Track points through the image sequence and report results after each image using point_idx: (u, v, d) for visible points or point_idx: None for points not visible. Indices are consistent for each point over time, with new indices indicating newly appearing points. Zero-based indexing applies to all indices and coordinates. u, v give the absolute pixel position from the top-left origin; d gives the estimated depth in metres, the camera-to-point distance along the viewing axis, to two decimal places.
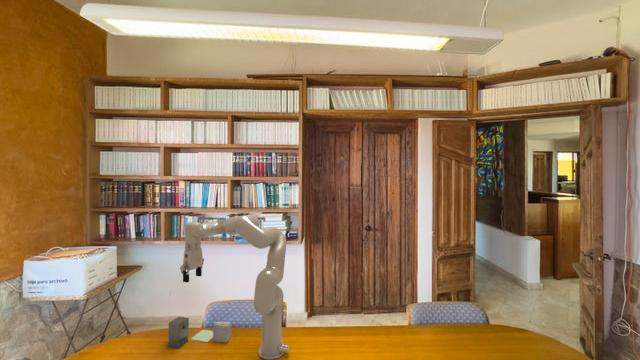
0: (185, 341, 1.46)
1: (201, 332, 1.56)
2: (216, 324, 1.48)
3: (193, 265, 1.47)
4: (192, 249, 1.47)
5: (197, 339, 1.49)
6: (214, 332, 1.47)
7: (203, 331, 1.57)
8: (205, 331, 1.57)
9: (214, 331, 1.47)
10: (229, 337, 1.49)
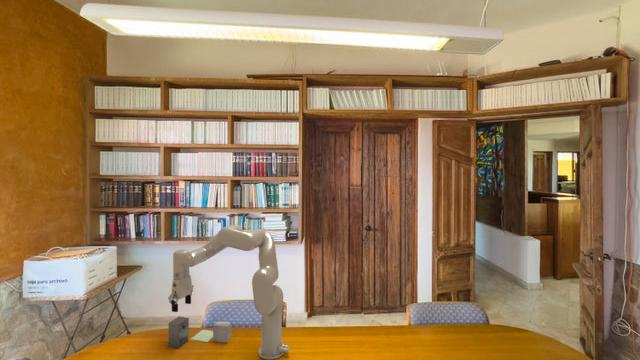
0: (185, 341, 1.46)
1: (201, 332, 1.56)
2: (216, 324, 1.48)
3: (182, 294, 1.45)
4: (180, 278, 1.46)
5: (197, 339, 1.49)
6: (214, 332, 1.47)
7: (203, 331, 1.57)
8: (205, 331, 1.57)
9: (214, 331, 1.47)
10: (229, 337, 1.49)
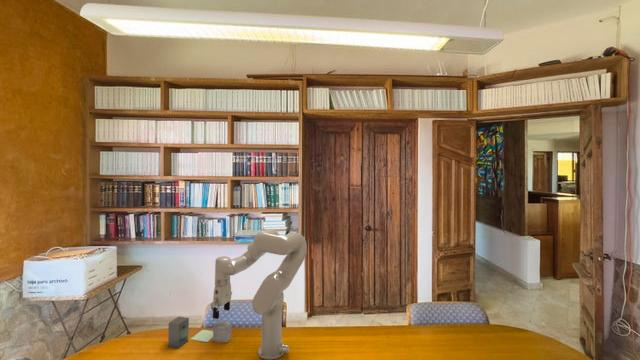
0: (185, 341, 1.46)
1: (201, 332, 1.56)
2: (216, 324, 1.48)
3: (223, 301, 1.46)
4: (222, 285, 1.46)
5: (197, 339, 1.49)
6: (214, 332, 1.47)
7: (203, 331, 1.57)
8: (205, 331, 1.57)
9: (214, 331, 1.47)
10: (229, 337, 1.49)
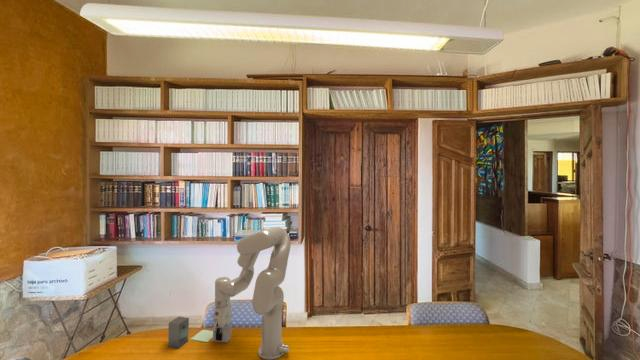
0: (185, 341, 1.46)
1: (201, 332, 1.56)
2: None
3: (223, 323, 1.46)
4: (222, 306, 1.46)
5: (197, 339, 1.49)
6: (214, 332, 1.47)
7: (203, 331, 1.57)
8: (205, 331, 1.57)
9: (214, 331, 1.47)
10: (229, 337, 1.49)
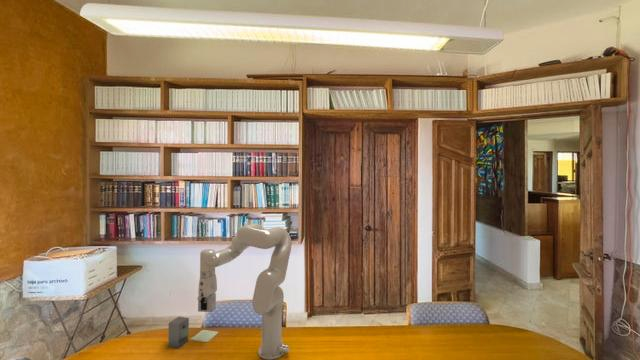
0: (185, 341, 1.46)
1: (201, 332, 1.56)
2: None
3: (208, 292, 1.49)
4: (207, 277, 1.49)
5: (197, 339, 1.49)
6: (199, 302, 1.51)
7: (203, 331, 1.57)
8: (205, 331, 1.57)
9: (199, 301, 1.51)
10: (214, 307, 1.52)
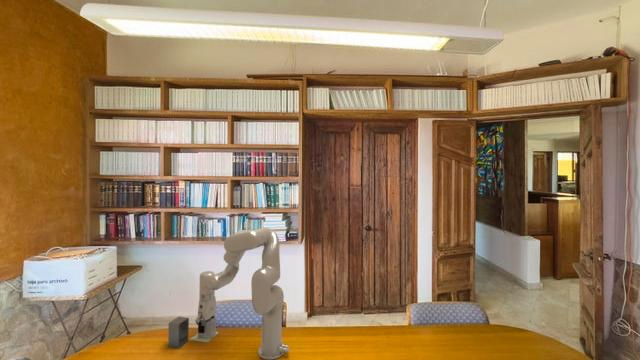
0: (185, 341, 1.46)
1: None
2: (201, 320, 1.52)
3: (207, 315, 1.49)
4: (206, 300, 1.49)
5: (197, 339, 1.49)
6: None
7: None
8: None
9: None
10: (213, 333, 1.52)
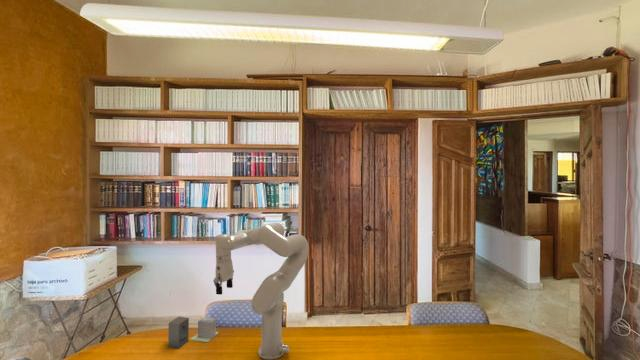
0: (185, 341, 1.46)
1: None
2: (201, 320, 1.52)
3: (225, 277, 1.48)
4: (224, 261, 1.48)
5: (197, 339, 1.49)
6: (199, 327, 1.51)
7: None
8: None
9: (199, 326, 1.51)
10: (213, 333, 1.52)
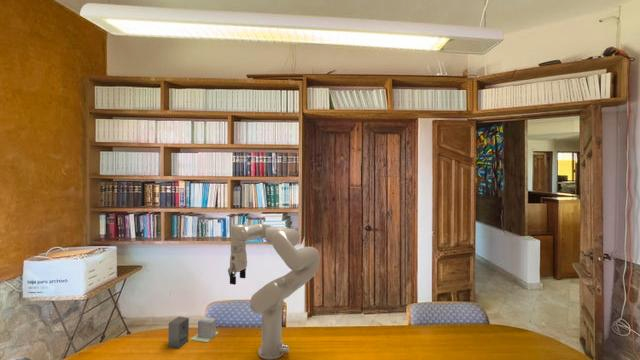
0: (185, 341, 1.46)
1: None
2: (201, 320, 1.52)
3: (239, 267, 1.47)
4: (238, 251, 1.47)
5: (197, 339, 1.49)
6: (199, 327, 1.51)
7: None
8: None
9: (199, 326, 1.51)
10: (213, 333, 1.52)
